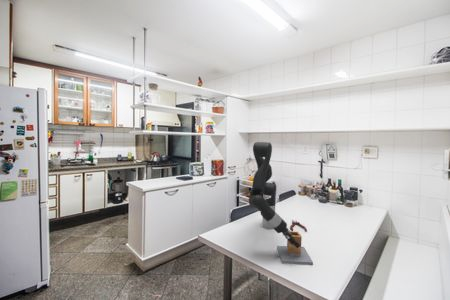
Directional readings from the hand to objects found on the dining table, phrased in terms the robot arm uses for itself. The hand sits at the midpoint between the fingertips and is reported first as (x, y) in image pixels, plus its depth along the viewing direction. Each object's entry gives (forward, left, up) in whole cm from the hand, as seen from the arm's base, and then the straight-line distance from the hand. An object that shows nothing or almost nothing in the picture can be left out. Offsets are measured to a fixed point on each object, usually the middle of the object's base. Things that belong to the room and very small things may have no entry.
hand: (297, 243), depth 120 cm
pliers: (-42, +12, -8) cm, 44 cm away
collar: (0, -2, -4) cm, 5 cm away
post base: (0, -2, -7) cm, 7 cm away
